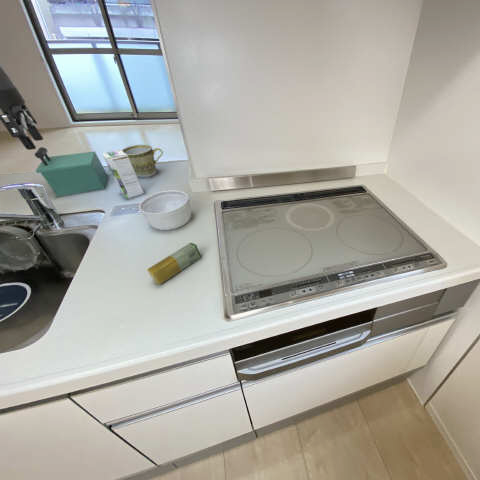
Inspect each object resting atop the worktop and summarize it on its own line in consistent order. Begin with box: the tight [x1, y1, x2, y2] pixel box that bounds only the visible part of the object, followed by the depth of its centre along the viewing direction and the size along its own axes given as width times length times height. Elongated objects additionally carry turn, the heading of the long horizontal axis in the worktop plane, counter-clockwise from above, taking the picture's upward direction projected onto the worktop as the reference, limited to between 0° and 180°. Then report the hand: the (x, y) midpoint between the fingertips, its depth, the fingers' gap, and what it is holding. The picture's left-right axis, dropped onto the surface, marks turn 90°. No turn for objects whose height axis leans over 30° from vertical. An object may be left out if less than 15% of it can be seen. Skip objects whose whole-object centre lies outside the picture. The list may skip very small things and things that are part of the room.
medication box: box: [146, 242, 202, 285], centre depth 64 cm, size 12×3×4 cm, turn 148°
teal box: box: [40, 153, 108, 197], centre depth 92 cm, size 14×12×9 cm
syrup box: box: [102, 149, 145, 200], centre depth 87 cm, size 6×6×14 cm
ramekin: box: [138, 189, 192, 231], centre depth 78 cm, size 13×13×7 cm
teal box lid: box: [34, 146, 97, 174], centre depth 88 cm, size 14×12×5 cm
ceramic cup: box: [121, 144, 164, 178], centre depth 101 cm, size 13×10×10 cm
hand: (35, 144), depth 83 cm, fingers open, 8 cm apart
